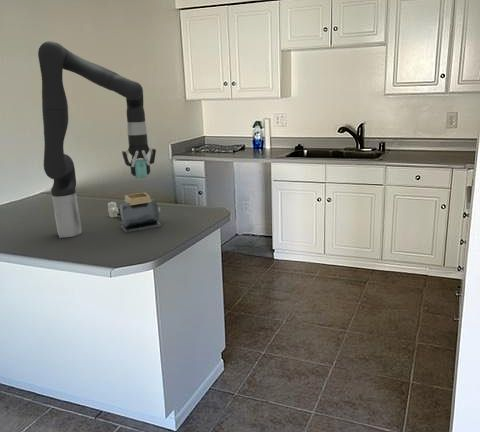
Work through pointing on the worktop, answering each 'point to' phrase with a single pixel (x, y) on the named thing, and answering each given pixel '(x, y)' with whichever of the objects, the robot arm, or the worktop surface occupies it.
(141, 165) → the mint green rounded block
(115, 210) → the valve
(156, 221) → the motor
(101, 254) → the worktop surface
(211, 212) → the worktop surface
